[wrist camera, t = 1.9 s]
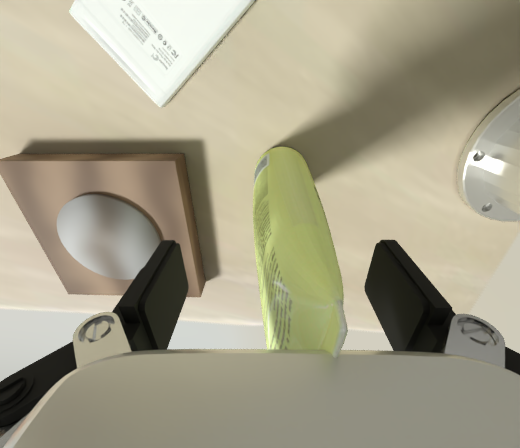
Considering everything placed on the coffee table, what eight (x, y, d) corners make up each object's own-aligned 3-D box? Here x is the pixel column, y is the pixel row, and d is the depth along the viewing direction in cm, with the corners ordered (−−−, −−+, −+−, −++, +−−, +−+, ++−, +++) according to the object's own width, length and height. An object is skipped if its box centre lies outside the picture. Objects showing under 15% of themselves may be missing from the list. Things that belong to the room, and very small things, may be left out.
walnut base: (183, 153, 22) (172, 162, 20) (205, 282, 30) (199, 300, 28) (19, 154, 23) (-13, 162, 21) (82, 279, 31) (65, 297, 29)
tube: (321, 182, 23) (450, 441, 6) (278, 210, 25) (291, 473, 8) (287, 132, 21) (348, 327, 4) (243, 167, 23) (163, 403, 6)
